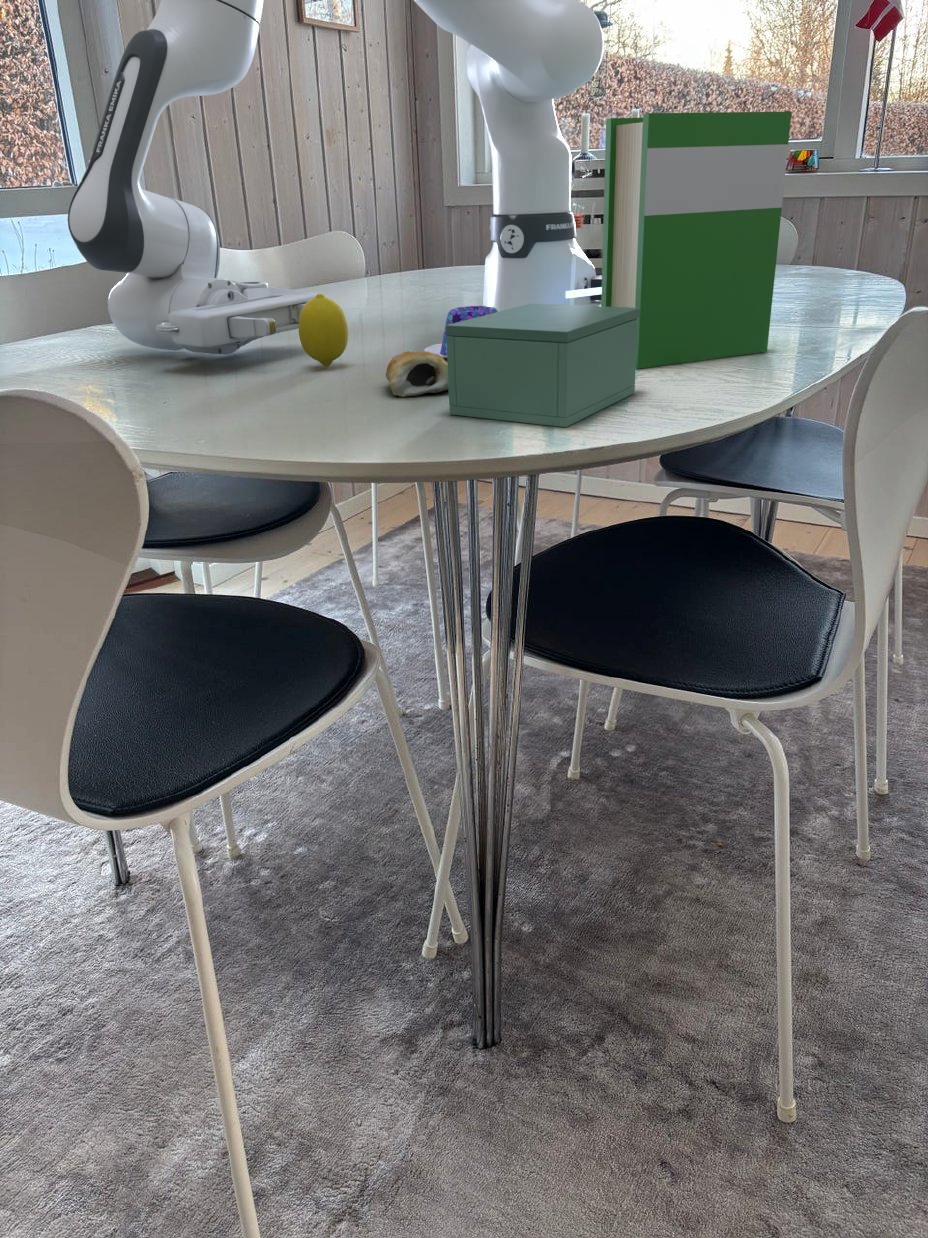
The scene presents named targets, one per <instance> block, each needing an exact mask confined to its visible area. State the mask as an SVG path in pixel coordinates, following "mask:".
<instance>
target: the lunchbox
mask: <svg viewBox="0 0 928 1238" xmlns="http://www.w3.org/2000/svg"><path fill="white" fill-rule="evenodd" d="M637 328H638V319H634V320H631V321H628V322H625V323H622V324H619V325H616V326H613V327H611V328H608V329H605V330H602V331H599V332H596V333H593V334H590V335H587V336H584V337H582V338H579V339H576V340H573V341H570V342H567V343H565V342H548V341H532V340H515V339H499V338H482V337H465V336H446V339H447V359H446V362H447V363H448V387H449V390H448V406H449V407H448V408H449V415H451V416H461V417H469V418H478V419H487V420H495V421H505V422H514V423H523V424H531V425H541V426H549V427H559V428H568V427H569V426H572V425H573V424H575V423H577V422H580V421H582V420H583V419H585V418H587V417H589V416H592V415H594V414H595V413H597V412H600V411H601V410H603V409H605V408H607V407H610V406H612V405H614V404H616V403H618V402H619V401H621V400H624V399H626V398H628V397H630V396H631V395H633V394H635V393H636V372H637V369H636V351H637Z"/></svg>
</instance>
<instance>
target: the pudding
mask: <svg viewBox="0 0 928 1238" xmlns="http://www.w3.org/2000/svg"><path fill="white" fill-rule="evenodd" d="M496 312H498V311H497V309H496V308H494V307H487V306H483V305H476V306H475V305H468V306H463V307H462V306H460V307H455V308H452V309H450V310H449V311H448V313H447V315H446V320H445V325H444V331H443V335H442V340H441V343H436V344H432V345H430V346H427V347H426V348H424V350H423V351H427V352H431V353H434V354H439V355H440V356H442V357H443V359H446V360H447V339H446V336H449V335H446V325H449V324H453V323H457V322H461V321H465V320H469V319H473V318H476V317H480V316H484V315H488V314H492V313H496Z"/></svg>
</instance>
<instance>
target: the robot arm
mask: <svg viewBox="0 0 928 1238" xmlns="http://www.w3.org/2000/svg"><path fill="white" fill-rule="evenodd" d="M264 1H265V0H160V2H159V5H158V8H157V11H156V13H155V15H154V17H153V19H152V21H151V22H150V24H149V26H148V27H147V29H145V30H140V31H138V32H137V33H135V34H134V35H133V36H132V37H131V38H130V40H129V41H128V43H127V45H126V46H125V49H124V51H123V53H122V56H121V58H120V60H119V61H120V62H119V64H118V67H117V70H116V73H115V76H114V80H113V82H112V86H111V89H110V91H109V95H108V99H107V102H106V104H105V109H104V113H103V115H102V118H101V122H100V125H99V128H98V132H97V134H96V137H95V141H94V145H93V148H92V151H91V154H90V158H89V161H88V164H87V167H86V169H85V172H84V173H83V176H82V178H81V180H80V182H79V184H78V185H77V187H76V189H75V192H74V194H73V196H72V198H71V200H70V203H69V207H68V213H67V225H68V226H67V227H68V231H69V234H70V237H71V239H72V241H73V243H74V245H75V247H76V249H77V250H78V252H79V253H80V254H81V256H82V257H83V258H84V259H85V260H86V262H87V263H88V264H89V265H90V266H92V267H93V268H95V269H97V270H100V271H105V272H106V271H107V272H115V273H122V274H123V273H126V275H125V276H124V277H123V279H122V280H121V281H119V282H118V283H117V284H116V285H114V287H113V288H112V289H111V290H110V292H109V295H108V298H107V309H108V314H109V317H110V320H111V322H112V324H113V326H115V328H116V330H117V331H119V333H120V334H121V335H122V336H123V337H125V338H126V339H127V340H129V341H131V342H133V343H135V344H137V345H140V346H143V347H146V348H152V349H156V350H165V351H181V350H187V351H188V352H192V353H199V354H212V355H226V356H227V355H230V354H233V353H235V352H236V351H238V350H239V349H240V348H242V347H244V346H246V345H248V344H249V343H251V342H253V341H255V340H258V339H261V338H264V337H269V336H272V335H275V334H280V333H284V332H289V331H293V330H299V317H300V313H301V311H302V308H303V307H304V305H305V304H306V303H307V302H308V301H310V300H311V299H313V298H315V297H316V295H317V294H318V293H315V292H314V291H313V292H312V291H307V290H306V291H305V290H301V289H292V288H283V287H269V284H268V283H267V282H265V281H244V282H243V281H236V280H232V279H226V278H221V277H220V278H218V275H219V270H220V263H221V262H220V261H221V260H220V259H221V245H220V238H219V234H218V230H217V228H216V225H215V223H214V221H213V219H212V217H211V216H210V215H209V214H208V212H207V211H205V210H204V209H203V208H202V207H200V206H196V205H194V204H191V203H188V202H185V201H183V200H180V199H176V198H173V197H170V196H164V195H161V194H158V193H155V192H152V191H149V190H146V189H143V188H142V187H141V176H142V173H143V169H144V167H145V166H144V165H145V162H146V159H147V156H148V153H149V150H150V146H151V144H152V141H153V138H154V133H155V131H156V127H157V124H158V121H159V118H160V116H161V115H162V113H163V111H164V110H165V109H166V108H167V107H168V106H169V105H170V104H172V103H173V102H175V101H177V100H180V99H182V98H183V99H184V98H188V97H202V96H213V95H217V94H221V93H224V92H227V91H229V90H231V89H233V88H234V87H235V86H237V85H238V84H239V83H240V82H241V81H242V80H243V79H245V77H246V76H247V75H248V72H249V70H250V69H251V66H252V64H253V60H254V56H255V53H256V47H257V43H258V38H259V33H260V27H261V21H262V15H263V8H264ZM413 1H414V3H415V4H416V5H417V6H418V7H419V8H420V9H421V10H422V11H423V12H424V13H425V14H426V15H427V16H428V17H429V18H430V19H431V20H432V21H433V22H434V23H435V24H436V25H437V26H438V27H440V29H442V30H444V31H445V32H448V33H451V34H453V35H455V36H457V37H458V38H460V39H462V40H464V41H465V42H466V43H468V44H470V45H469V47H468V50H467V54H466V63H465V67H466V74H467V75H466V76H467V79H468V81H469V84H470V85H471V87H472V89H473V91H474V92H475V93H476V95H477V97H478V99H479V103H480V106H481V111H482V115H483V119H484V123H485V128H486V133H487V137H488V143H489V149H490V157H491V179H492V180H491V181H492V211H493V212H492V213H493V214H491V215H490V224H489V231H490V233H489V234H490V241H491V242H492V247H491V250H490V252H489V253H488V254H487V256H486V257H485V259H484V275H483V295H482V306H487V307H494V308H496V309H497V311H498V312H500V311H504V310H508V309H512V308H515V307H519V306H523V305H527V304H551V305H577V306H601V295H602V275H597V272H596V268H595V266H594V264H592V262H591V261H590V260H589V258H588V256H587V255H586V254H585V253H584V251H583V250H582V248H581V247H580V246H579V244H578V242H577V240H576V239H577V237H578V234H577V230H582V228H583V225H584V217H583V214H580V213H577V214H574V212H572V211H571V207H572V206H571V203H572V202H571V201H572V200H571V199H572V198H571V195H572V154H571V149H570V146H569V145H568V143H567V141H566V140H565V139H564V137H563V136H562V132H561V130H560V126H559V124H558V119H557V115H556V109H555V104H554V100H556V99H561V98H564V97H567V96H569V95H570V94H573V93H574V92H576V91H577V90H578V89H580V88H581V87H583V86H584V85H586V84H587V83H588V82H589V81H590V80H592V78H593V77H594V76H595V75H596V73H597V71H598V69H599V67H600V65H601V62H602V59H603V55H604V48H605V47H604V45H605V43H604V41H605V40H604V34H603V30H602V26H601V23H600V20H599V18H598V17H597V15H596V13H595V12H594V11H593V10H592V9H591V8H590V7H589V6H588V5H587V4H586V3H584V2H581V1H579V0H413Z"/></svg>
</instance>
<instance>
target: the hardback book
mask: <svg viewBox="0 0 928 1238" xmlns="http://www.w3.org/2000/svg"><path fill="white" fill-rule="evenodd" d="M791 121H792V111H723V112H721V111H720V112H719V111H717V112H716V111H715V112H711V111H710V112H647V113H643V114H642V117H608V118H606V119H605V145H604V146H605V147H604V151H605V152H604V182H603V183H604V186H603V187H604V188H603V194H604V195H603V222H602V223H603V225H602V257H601V259H602V265H601V276H602V295H601V306H604V307H630V308H641V311H640V318H637V319H638V328H637V351H636V370H640V369H647V368H654V367H662V366H669V365H676V364H677V365H678V364H685V363H691V362H701V361H707V360H713V359H715V360H716V359H720V358H728V357H729V358H731V357H736V356H744V355H752V354H758V353H759V354H760V353H767V352H768V347H769V346H768V345H769V337H770V328H771V317H772V306H773V298H774V287H775V278H776V277H775V276H776V270H777V269H776V268H777V259H778V249H779V247H778V246H779V240H780V239H779V238H780V229H781V221H782V220H781V219H782V209H783V201H784V190H785V189H784V188H785V180H786V170H787V163H788V162H787V161H788V152H789V151H788V150H789V141H790V130H791V123H792V122H791Z"/></svg>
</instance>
